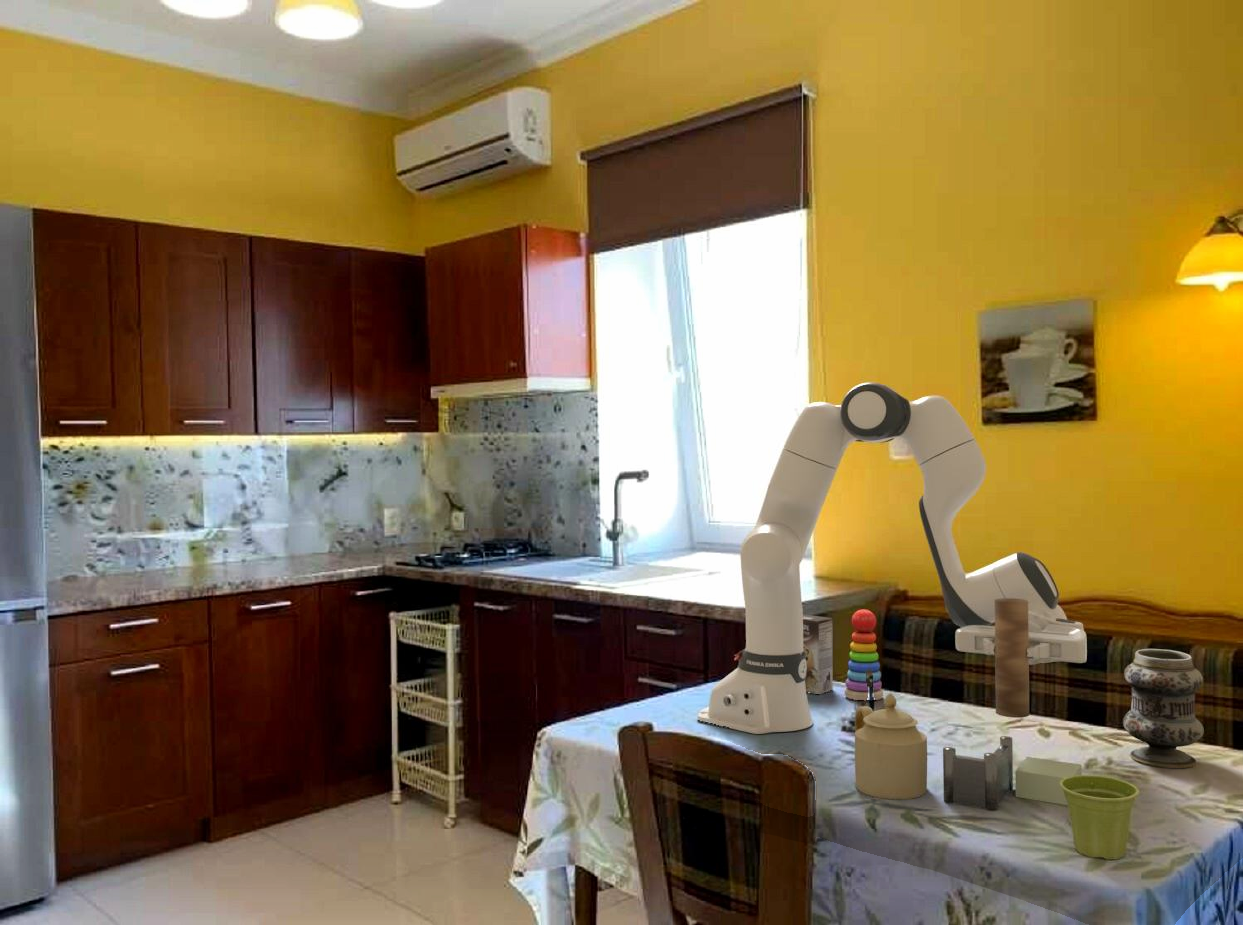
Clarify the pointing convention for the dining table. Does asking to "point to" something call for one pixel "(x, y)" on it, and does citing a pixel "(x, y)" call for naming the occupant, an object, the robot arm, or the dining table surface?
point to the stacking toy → (863, 658)
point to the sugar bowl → (889, 753)
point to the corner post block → (978, 777)
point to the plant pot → (1099, 814)
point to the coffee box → (818, 653)
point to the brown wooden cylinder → (1011, 657)
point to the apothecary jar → (1163, 707)
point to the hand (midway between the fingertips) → (1010, 651)
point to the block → (1044, 779)
